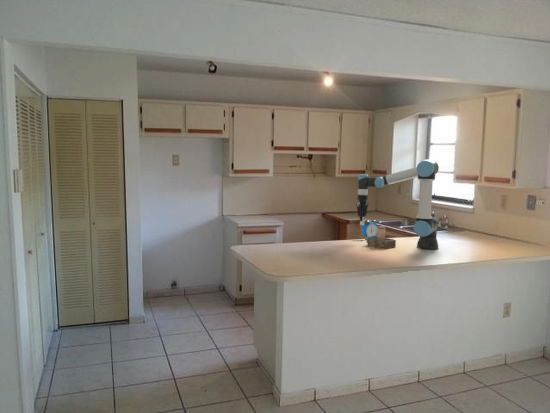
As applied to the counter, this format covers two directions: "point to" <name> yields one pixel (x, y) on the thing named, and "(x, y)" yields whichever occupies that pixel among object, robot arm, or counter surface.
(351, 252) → the counter surface
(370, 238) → the tray
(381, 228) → the canister
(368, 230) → the alarm clock
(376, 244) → the stand
